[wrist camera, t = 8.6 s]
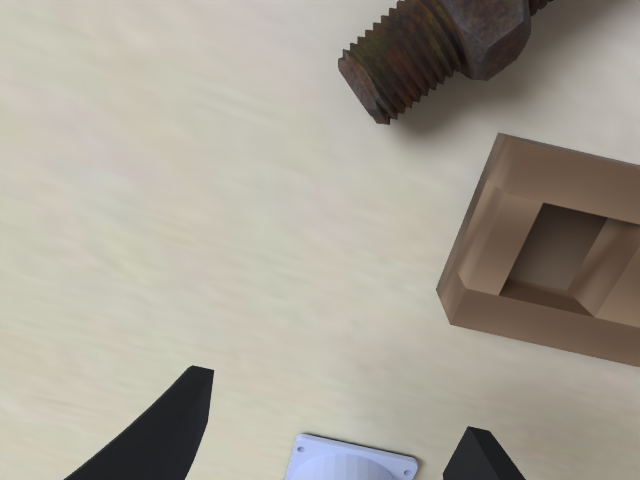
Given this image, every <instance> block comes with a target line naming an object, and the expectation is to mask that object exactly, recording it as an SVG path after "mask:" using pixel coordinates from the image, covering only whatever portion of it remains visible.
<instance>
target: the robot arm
mask: <svg viewBox="0 0 640 480" xmlns="http://www.w3.org/2000/svg"><path fill="white" fill-rule="evenodd" d="M213 376H214V370H211V369H207V368H202V367H198V366H193V365H192V366H190V367H189V368H187V370H186V371H185V372H184V373H183V374H182V375H181V376H180V377H179V378H178V379H177V380H176V381H175V382H174V383H173V385H172V386H171V387H170V388H169V389H168V390H167V391H166V392H165V393H164V394H163V395H162V396H161V397H159V398H158V399H157V400H156V401H155V402H154V403H153V404H152V405H151V406H150V407H149V408H148V409H147V410H146V411H145V412H144V413H143V414H141V415H140V416H139V417H138V418H137V419H136V420H135V421H134V422H133V423H132V424H131V425H130V426H128V427H127V428H126V429H125V430H124V431H123V432H122V433H120V434H119V435H118V436H117V437H116V438H114V439H113V440H112V441H111V442H110V443H109V444H107V445H106V446H105V447H104V448H103V449H101V450H100V451H99V452H98V453H97V454H96V455H94V456H93V457H92V458H91V459H89V460H88V461H87V462H86V463H84V464H83V465H82V466H81V467H79V468H78V469H77V470H76V471H74V472H73V473H72V474H70V475H69V476H68V477H66V478H65V479H64V480H185V478H186V476H187V474H188V472H189V470H190V467H191V465H192V463H193V461H194V458H195V456H196V453H197V450H198V448H199V445H200V442H201V439H202V437H203V434H204V431H205V428H206V425H207V423H208V416H209V408H210V400H211V392H212V384H213ZM417 470H418V462H417V460H416V459H414V458H412V457H408V456H403V455H398V454H394V453H389V452H385V451H380V450H376V449H371V448H366V447H362V446H357V445H353V444H348V443H344V442H339V441H335V440H330V439H325V438H321V437H316V436H312V435H307V434H299V435H298V436H297V437H296V440H295V443H294V447H293V451H292V454H291V458H290V462H289V466H288V469H287V473H286V477H285V480H413V478H414V476H415V474H416V472H417ZM443 480H526V479H525V478H524V477H523V475H522V474H521V473H520V471H519V470H518V468H517V467H516V466H515V464H514V463H513V462H512V460H511V459H510V458H509V456H508V455H507V453H506V452H505V451H504V449H503V448H502V447H501V445H500V444H499V443H498V441H497V440H496V439H495V437H494V436H493V435H492V434H491V432H490V431H488V430H483V429H479V428H474V427H470V426H468V427H467V429H466V431H465V433H464V435H463V437H462V439H461V440H460V442H459V444H458V446H457V448H456V450H455V452H454V454H453V455H452V457H451V459H450V461H449V463H448V465H447V467H446V469H445V470H444V472H443Z"/></svg>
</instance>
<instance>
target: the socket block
mask: <svg viewBox="0 0 640 480" xmlns="http://www.w3.org/2000/svg"><path fill="white" fill-rule="evenodd" d="M436 291H437V293H438V296H439V298H440V301H441V303H442V306H443V308H444V310H445V313H446V315H447V318H448V320H449V323H450V325H454V326H459V327H463V328H468V329H472V330H477V331H481V332H485V333H490V334H494V335H499V336H503V337H508V338H512V339H517V340H521V341H525V342H530V343H534V344H539V345H543V346H548V347H552V348H557V349H561V350H566V351H570V352H574V353H579V354H583V355H588V356H592V357H597V358H601V359H606V360H610V361H614V362H619V363H623V364H628V365H632V366H637V367H640V165H635V164H631V163H627V162H623V161H618V160H614V159H610V158H605V157H601V156H597V155H592V154H588V153H584V152H580V151H575V150H571V149H567V148H562V147H558V146H554V145H550V144H545V143H541V142H537V141H532V140H528V139H524V138H520V137H515V136H511V135H507V134H502V133H498V135H497V137H496V140H495V142H494V145H493V147H492V150H491V152H490V155H489V157H488V160H487V162H486V165H485V167H484V170H483V172H482V175H481V177H480V180H479V182H478V185H477V187H476V190H475V192H474V195H473V198H472V200H471V203H470V205H469V208H468V210H467V213H466V215H465V218H464V220H463V223H462V225H461V228H460V230H459V233H458V235H457V238H456V240H455V243H454V245H453V248H452V250H451V253H450V255H449V258H448V260H447V263H446V265H445V268H444V270H443V273H442V275H441V278H440V280H439V283H438V285H437V288H436Z"/></svg>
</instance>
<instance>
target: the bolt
mask: <svg viewBox="0 0 640 480" xmlns="http://www.w3.org/2000/svg"><path fill="white" fill-rule="evenodd" d="M551 1H553V0H405V1H400V0H399V1H398V2H397V9H394V8H389V16H384V15H382V16H381V23H373V30H365V37H358V41H357V44H354V43H350V51H349V50H345V49H343V57H342V58H339V59H338V68H339V71H340V72H341V74H342V75H343V77H344V78H345V80H346V81H347V83H348V84H349V86H350V87H351V89H352V90H353V92H354V93H355V95H356V96H357V97H358V99H359V100H360V102H361V103H362V105H363V106H364V108H365V109H366V110H367V112H368V113H369V114H370V116H372V117H373V118H374V120H375V121H376V123H379V124H387V125H390V118H393V119H397V116H398V112H399V113H402V114H404V112H405V107H409V108H412V104H413V101H416V102H420V97H421V94H422V95H425V96H427V95H428V91H429V88H430V89H433V90H436V86H437V82H438V83H441V84H444V80H445V76H447V77H453V72H454V70H456V71H460V72H461V73H463V74H464V75H465V76H466V77H468V78H470V79H476V80H486V81H488V80H489V79H490V78H492V77H493V76H494V75H496V74H497V73H499V72H500V71H501V70H503V69H504V68H505V67H507V66H508V65H509V64H511V63H512V62H513V61H515V60H516V59H517V57H518V56H519V54H520V53H521V51H522V50H523V48H524V47H525V45H526V42H527V40H528V38H529V36H530V32H531V16H533V15H535V13H536V12H537V9H542V8H544V7H545V6H546V5H547V2H551Z"/></svg>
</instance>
